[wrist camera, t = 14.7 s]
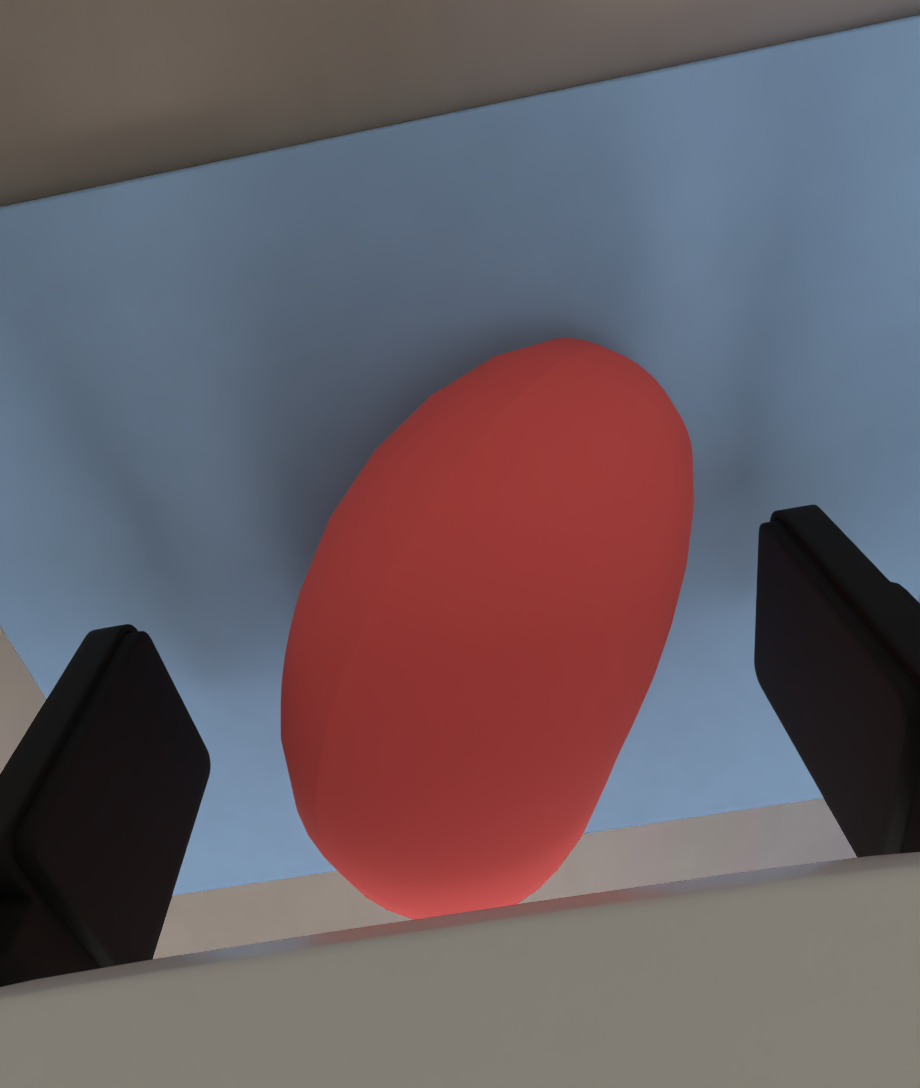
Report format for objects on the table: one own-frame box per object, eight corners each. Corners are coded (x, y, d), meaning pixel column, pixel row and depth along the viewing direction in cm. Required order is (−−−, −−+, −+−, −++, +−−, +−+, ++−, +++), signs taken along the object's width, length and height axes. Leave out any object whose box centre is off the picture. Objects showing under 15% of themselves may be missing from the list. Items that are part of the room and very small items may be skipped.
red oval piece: (217, 624, 15) (244, 987, 12) (336, 231, 8) (479, 839, 5) (454, 618, 17) (530, 919, 14) (700, 310, 10) (955, 754, 7)
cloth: (-213, 251, 10) (-236, 257, 10) (1003, -4, 9) (1027, -8, 9) (174, 880, 17) (170, 896, 17) (877, 774, 16) (887, 789, 16)
